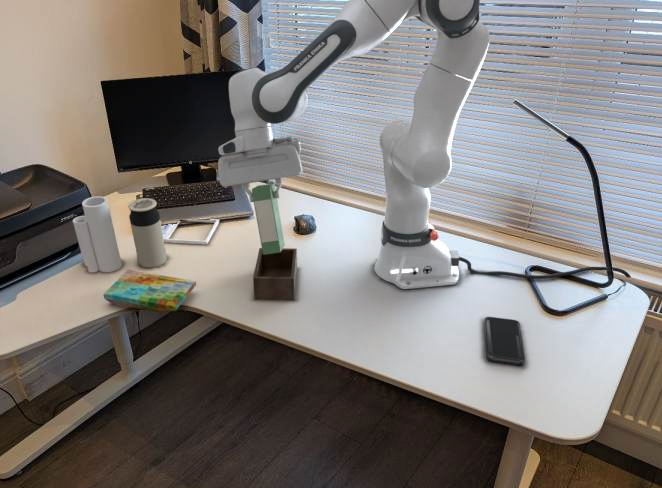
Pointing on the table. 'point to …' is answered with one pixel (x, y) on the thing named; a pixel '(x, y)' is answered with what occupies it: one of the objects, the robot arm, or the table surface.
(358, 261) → the table surface
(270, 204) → the tea packet
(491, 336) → the phone
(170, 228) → the photo frame
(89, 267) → the vase
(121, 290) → the puzzle game
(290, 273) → the box
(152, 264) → the travel mug
